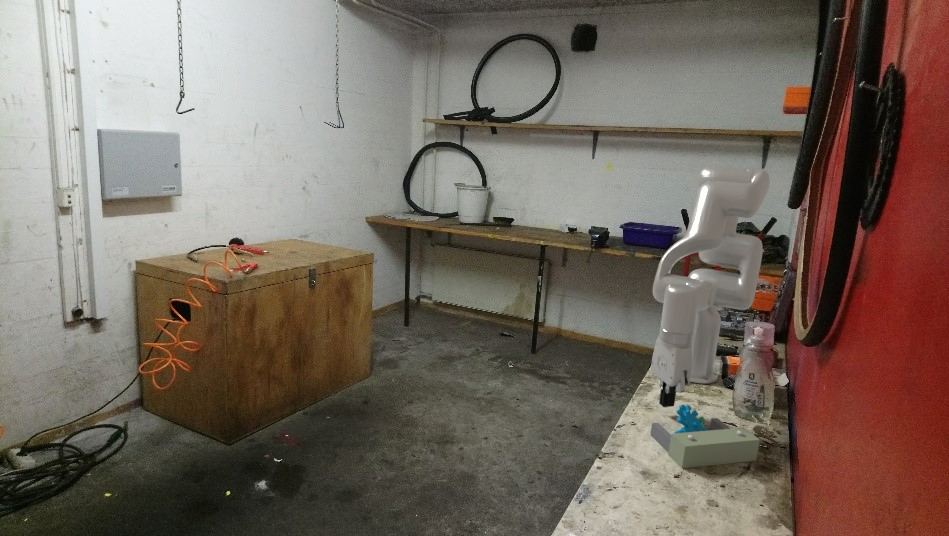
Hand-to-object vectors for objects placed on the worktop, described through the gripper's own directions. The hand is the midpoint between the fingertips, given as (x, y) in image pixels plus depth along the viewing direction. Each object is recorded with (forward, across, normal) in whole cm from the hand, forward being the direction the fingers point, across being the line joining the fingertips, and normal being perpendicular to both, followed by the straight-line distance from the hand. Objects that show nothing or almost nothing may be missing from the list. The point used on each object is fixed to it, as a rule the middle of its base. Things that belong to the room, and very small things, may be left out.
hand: (666, 404), depth 135 cm
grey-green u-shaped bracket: (+2, +15, -1) cm, 15 cm away
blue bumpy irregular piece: (+3, +12, -1) cm, 12 cm away
